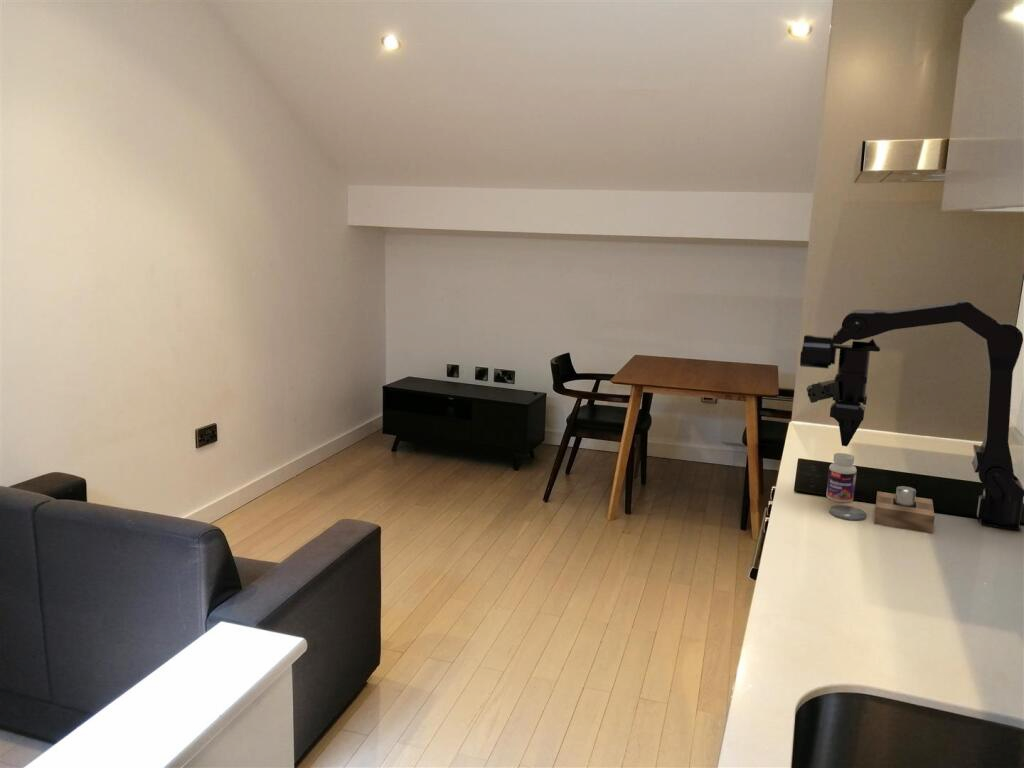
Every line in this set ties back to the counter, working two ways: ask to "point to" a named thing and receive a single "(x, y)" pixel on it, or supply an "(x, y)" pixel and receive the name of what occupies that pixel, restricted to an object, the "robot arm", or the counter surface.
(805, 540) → the counter surface
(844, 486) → the pill bottle
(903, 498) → the plug
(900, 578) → the counter surface
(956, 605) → the counter surface
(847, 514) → the coaster
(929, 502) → the socket block
